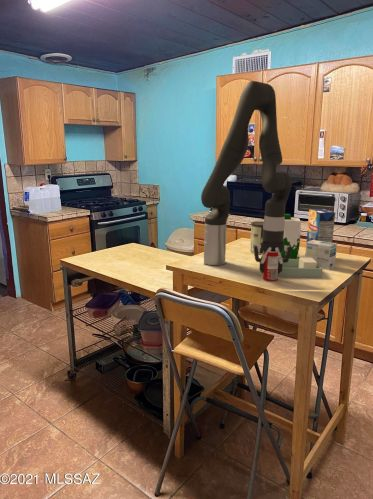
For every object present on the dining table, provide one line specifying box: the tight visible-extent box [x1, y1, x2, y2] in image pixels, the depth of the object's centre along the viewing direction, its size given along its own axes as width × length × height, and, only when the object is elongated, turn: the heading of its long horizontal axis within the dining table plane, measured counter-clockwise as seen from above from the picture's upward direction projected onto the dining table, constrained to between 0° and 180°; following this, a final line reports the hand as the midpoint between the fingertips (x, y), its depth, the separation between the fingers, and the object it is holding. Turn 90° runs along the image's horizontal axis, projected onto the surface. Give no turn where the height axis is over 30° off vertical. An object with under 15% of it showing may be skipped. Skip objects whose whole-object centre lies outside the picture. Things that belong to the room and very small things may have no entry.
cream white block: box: [298, 256, 317, 268], centre depth 154 cm, size 5×7×5 cm
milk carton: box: [280, 213, 302, 259], centre depth 174 cm, size 9×9×20 cm
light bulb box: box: [304, 240, 338, 271], centre depth 162 cm, size 11×7×11 cm, turn 48°
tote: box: [278, 258, 323, 278], centre depth 154 cm, size 17×13×4 cm
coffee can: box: [249, 220, 264, 255], centre depth 185 cm, size 10×10×14 cm
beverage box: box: [304, 208, 336, 257], centre depth 173 cm, size 7×11×22 cm, turn 7°
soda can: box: [262, 251, 279, 283], centre depth 144 cm, size 6×6×12 cm
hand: (270, 272), depth 144 cm, fingers closed on soda can, 5 cm apart
